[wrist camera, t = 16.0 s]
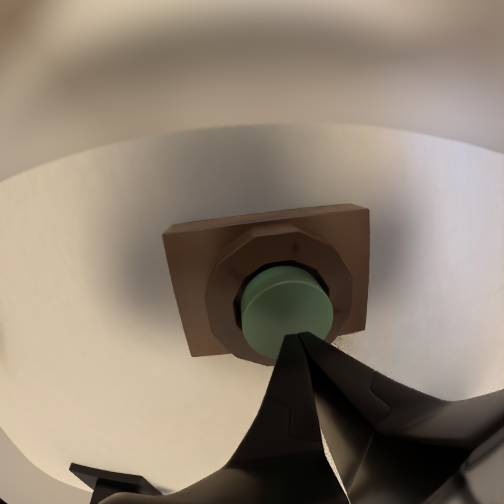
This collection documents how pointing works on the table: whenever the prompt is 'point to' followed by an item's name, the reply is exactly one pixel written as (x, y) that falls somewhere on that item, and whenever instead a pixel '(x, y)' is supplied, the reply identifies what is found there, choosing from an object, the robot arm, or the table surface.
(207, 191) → the table surface
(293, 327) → the button
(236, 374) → the table surface
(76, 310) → the table surface
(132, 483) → the switch bracket
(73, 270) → the table surface
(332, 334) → the button block
